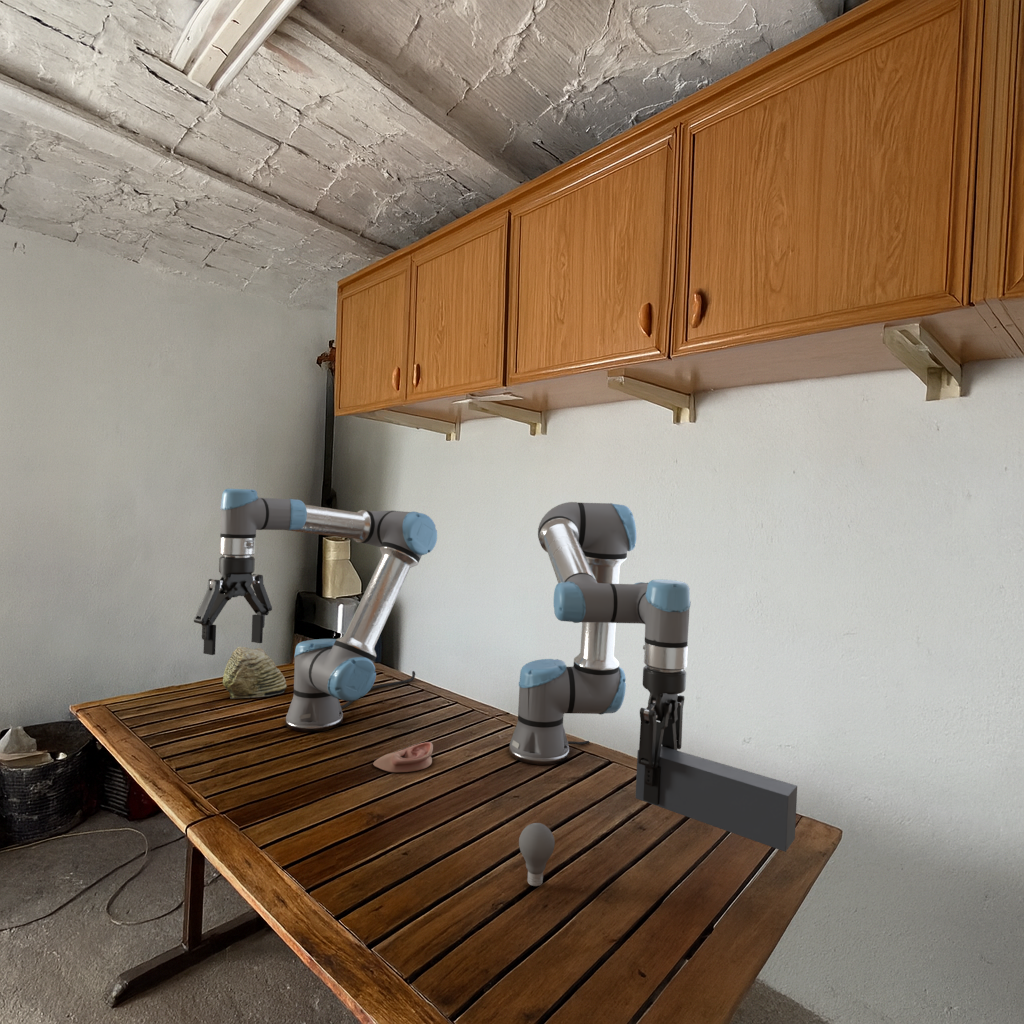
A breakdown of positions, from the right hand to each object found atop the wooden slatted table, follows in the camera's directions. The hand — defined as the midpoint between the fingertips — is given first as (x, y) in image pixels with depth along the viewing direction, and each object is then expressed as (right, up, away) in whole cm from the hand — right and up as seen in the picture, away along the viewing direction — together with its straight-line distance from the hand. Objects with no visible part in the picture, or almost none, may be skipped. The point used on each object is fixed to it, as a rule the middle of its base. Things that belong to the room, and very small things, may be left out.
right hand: (658, 796), depth 113 cm
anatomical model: (-52, -10, +39) cm, 66 cm away
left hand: (-90, +20, +32) cm, 98 cm away
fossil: (-107, -6, +85) cm, 136 cm away
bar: (+7, -1, -6) cm, 10 cm away
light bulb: (-22, -12, -7) cm, 26 cm away
